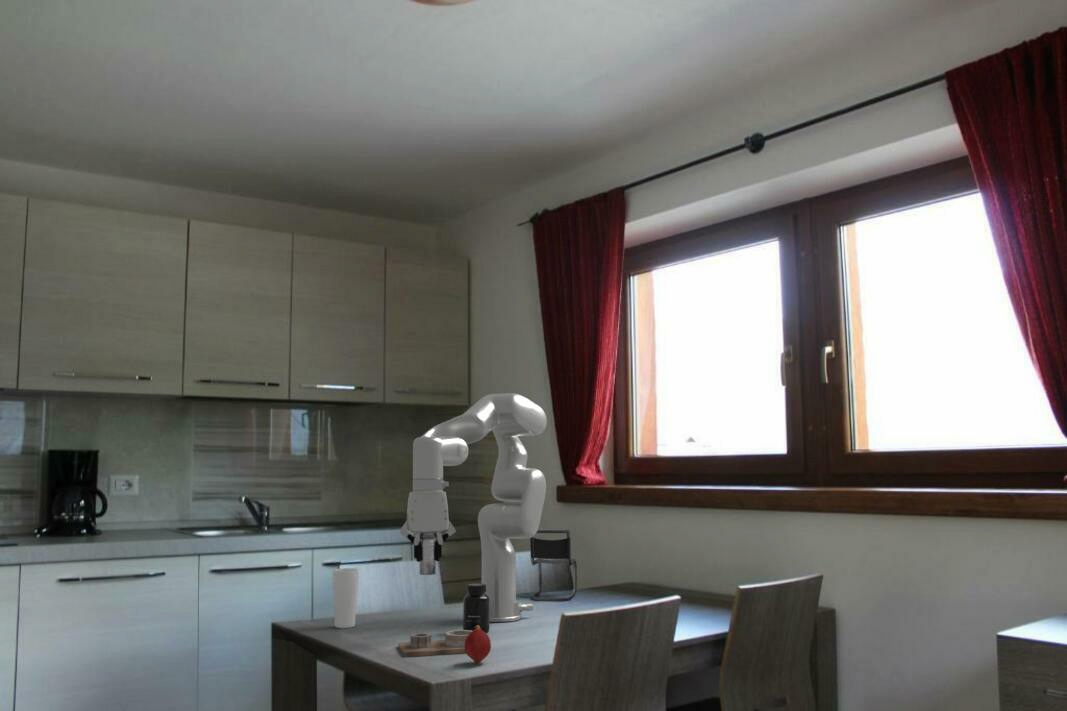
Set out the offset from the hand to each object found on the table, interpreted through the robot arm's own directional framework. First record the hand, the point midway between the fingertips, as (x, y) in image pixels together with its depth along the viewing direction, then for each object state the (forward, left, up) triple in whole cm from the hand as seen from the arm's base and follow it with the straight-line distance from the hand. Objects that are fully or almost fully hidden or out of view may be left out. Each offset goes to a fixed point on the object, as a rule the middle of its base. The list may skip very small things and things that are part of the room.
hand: (427, 560), depth 231 cm
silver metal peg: (0, 0, -3) cm, 3 cm away
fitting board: (-2, +12, -19) cm, 23 cm away
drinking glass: (+18, -25, -19) cm, 36 cm away
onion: (-7, +29, -19) cm, 36 cm away
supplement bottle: (-14, -7, -19) cm, 25 cm away
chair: (-50, -60, -19) cm, 80 cm away
